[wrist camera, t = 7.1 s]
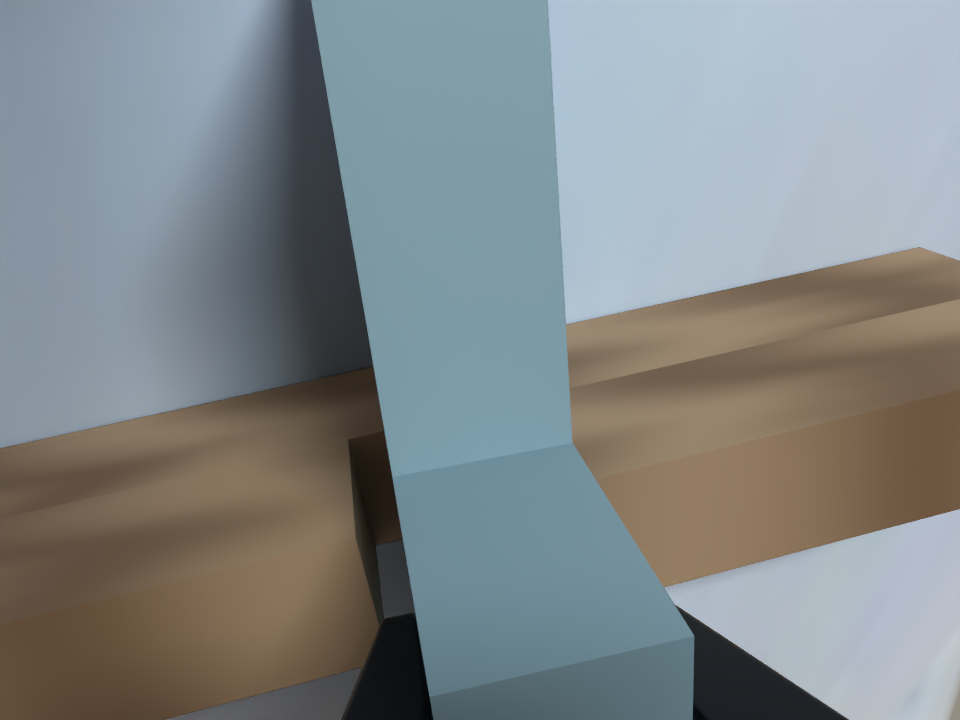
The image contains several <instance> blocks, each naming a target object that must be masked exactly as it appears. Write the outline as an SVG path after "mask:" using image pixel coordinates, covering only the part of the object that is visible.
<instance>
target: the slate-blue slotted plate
mask: <svg viewBox="0 0 960 720" xmlns="http://www.w3.org/2000/svg"><path fill="white" fill-rule="evenodd" d="M311 3H312V9H313V15H314V20H315V26H316V32H317V38H318V44H319V50H320V56H321V61H322V67H323V73H324V79H325V85H326V91H327V97H328V103H329V108H330V114H331V120H332V126H333V132H334V138H335V144H336V149H337V155H338V161H339V167H340V173H341V179H342V185H343V190H344V196H345V202H346V208H347V214H348V220H349V226H350V232H351V237H352V243H353V249H354V255H355V261H356V267H357V273H358V278H359V284H360V290H361V296H362V302H363V308H364V314H365V319H366V325H367V331H368V337H369V343H370V349H371V355H372V361H373V366H374V372H375V378H376V384H377V390H378V396H379V402H380V407H381V413H382V419H383V425H384V431H385V437H386V443H387V448H388V454H389V460H390V466H391V472H392V478H393V484H394V490H395V496H396V501H397V507H398V513H399V519H400V525H401V531H402V537H403V543H404V549H405V555H406V561H407V566H408V572H409V578H410V584H411V590H412V596H413V602H414V608H415V614H416V620H417V626H418V631H419V637H420V643H421V649H422V655H423V661H424V667H425V673H426V679H427V685H428V691H429V696H430V702H431V708H432V714H433V720H693V678H694V635H693V633H692V631H691V630H690V628H689V627H688V625H687V623H686V622H685V620H684V619H683V617H682V616H681V614H680V612H679V611H678V609H677V608H676V606H675V604H674V603H673V601H672V600H671V598H670V597H669V595H668V593H667V592H666V590H665V589H664V587H663V585H662V584H661V582H660V581H659V579H658V578H657V576H656V574H655V573H654V571H653V570H652V568H651V566H650V565H649V563H648V562H647V560H646V559H645V557H644V555H643V554H642V552H641V551H640V549H639V547H638V546H637V544H636V543H635V541H634V539H633V538H632V536H631V535H630V533H629V532H628V530H627V528H626V527H625V525H624V524H623V522H622V520H621V519H620V517H619V516H618V514H617V513H616V511H615V509H614V508H613V506H612V505H611V503H610V501H609V500H608V498H607V497H606V495H605V494H604V492H603V490H602V489H601V487H600V486H599V484H598V482H597V481H596V479H595V478H594V476H593V475H592V473H591V471H590V470H589V468H588V467H587V465H586V463H585V462H584V460H583V459H582V457H581V456H580V454H579V452H578V451H577V449H576V448H575V446H574V444H573V443H572V425H571V407H570V390H569V372H568V354H567V336H566V319H565V301H564V283H563V266H562V248H561V230H560V212H559V195H558V177H557V159H556V142H555V124H554V106H553V89H552V71H551V53H550V35H549V18H548V0H311Z"/></svg>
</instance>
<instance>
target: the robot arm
mask: <svg viewBox="0 0 960 720" xmlns="http://www.w3.org/2000/svg"><path fill="white" fill-rule="evenodd" d="M675 606H676V605H675ZM676 608H677V609H678V611H679V612H680V614H681V616H682V617H683V619H684V620H685V622H686V623H687V625H688V627H689V628H690V630H691V631H692V633H693V635H694V678H693V720H849V719H847V718H846V717H844V716H843V715H841V714H840V713H838V712H837V711H835V710H833V709H832V708H830V707H829V706H827V705H826V704H824V703H823V702H821V701H820V700H818V699H817V698H815V697H814V696H812V695H811V694H809V693H808V692H806V691H805V690H803V689H802V688H800V687H799V686H797V685H796V684H794V683H793V682H791V681H790V680H788V679H787V678H785V677H784V676H782V675H781V674H779V673H778V672H776V671H774V670H773V669H771V668H770V667H768V666H767V665H765V664H764V663H762V662H761V661H759V660H758V659H756V658H755V657H753V656H752V655H750V654H749V653H747V652H746V651H744V650H743V649H741V648H740V647H738V646H737V645H735V644H734V643H732V642H731V641H729V640H728V639H726V638H725V637H723V636H722V635H720V634H719V633H717V632H716V631H714V630H712V629H711V628H709V627H708V626H706V625H705V624H703V623H702V622H700V621H699V620H697V619H696V618H694V617H693V616H691V615H690V614H688V613H687V612H685V611H684V610H682V609H681V608H679V607H678V606H676ZM341 720H433V714H432V708H431V702H430V696H429V691H428V685H427V679H426V673H425V667H424V661H423V655H422V649H421V643H420V637H419V631H418V626H417V620H416V614H414V613H410V614H405V615H400V616H396V617H391V618H387V619H384V620H383V621H382V622H381V624H380V626H379V628H378V630H377V633H376V635H375V638H374V640H373V643H372V645H371V647H370V650H369V652H368V655H367V657H366V660H365V662H364V665H363V667H362V670H361V672H360V675H359V677H358V680H357V682H356V685H355V687H354V689H353V692H352V694H351V697H350V699H349V702H348V704H347V707H346V709H345V712H344V714H343V717H342V719H341Z"/></svg>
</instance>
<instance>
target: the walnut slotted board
mask: <svg viewBox="0 0 960 720" xmlns="http://www.w3.org/2000/svg"><path fill="white" fill-rule="evenodd" d="M566 336H567V354H568V372H569V390H570V407H571V425H572V443H573V444H574V446H575V448H576V449H577V451H578V452H579V454H580V456H581V457H582V459H583V460H584V462H585V463H586V465H587V467H588V468H589V470H590V471H591V473H592V475H593V476H594V478H595V479H596V481H597V482H598V484H599V486H600V487H601V489H602V490H603V492H604V494H605V495H606V497H607V498H608V500H609V501H610V503H611V505H612V506H613V508H614V509H615V511H616V513H617V514H618V516H619V517H620V519H621V520H622V522H623V524H624V525H625V527H626V528H627V530H628V532H629V533H630V535H631V536H632V538H633V539H634V541H635V543H636V544H637V546H638V547H639V549H640V551H641V552H642V554H643V555H644V557H645V559H646V560H647V562H648V563H649V565H650V566H651V568H652V570H653V571H654V573H655V574H656V576H657V578H658V579H659V581H660V582H661V584H662V585H663V587H667V586H671V585H674V584H678V583H682V582H686V581H689V580H693V579H697V578H701V577H705V576H708V575H712V574H716V573H720V572H723V571H727V570H731V569H735V568H739V567H742V566H746V565H750V564H754V563H757V562H761V561H765V560H769V559H773V558H776V557H780V556H784V555H788V554H791V553H795V552H799V551H803V550H806V549H810V548H814V547H818V546H822V545H825V544H829V543H833V542H837V541H840V540H844V539H848V538H852V537H856V536H859V535H863V534H867V533H871V532H874V531H878V530H882V529H886V528H890V527H893V526H897V525H901V524H905V523H908V522H912V521H916V520H920V519H924V518H927V517H931V516H935V515H939V514H942V513H946V512H950V511H954V510H958V509H960V261H959V260H956V259H953V258H950V257H947V256H944V255H941V254H938V253H935V252H932V251H929V250H926V249H924V248H921V247H919V248H914V249H910V250H905V251H901V252H896V253H891V254H887V255H882V256H878V257H873V258H869V259H864V260H859V261H855V262H850V263H846V264H841V265H837V266H832V267H827V268H823V269H818V270H814V271H809V272H805V273H800V274H795V275H791V276H786V277H782V278H777V279H772V280H768V281H763V282H759V283H754V284H750V285H745V286H740V287H736V288H731V289H727V290H722V291H718V292H713V293H708V294H704V295H699V296H695V297H690V298H686V299H681V300H676V301H672V302H667V303H663V304H658V305H654V306H649V307H644V308H640V309H635V310H631V311H626V312H622V313H617V314H612V315H608V316H603V317H599V318H594V319H590V320H585V321H580V322H576V323H571V324H567V325H566ZM401 539H403V537H402V531H401V525H400V519H399V513H398V507H397V501H396V496H395V490H394V484H393V478H392V472H391V466H390V460H389V454H388V448H387V443H386V437H385V431H384V425H383V419H382V413H381V407H380V402H379V396H378V390H377V384H376V378H375V372H374V367H370V368H365V369H361V370H356V371H352V372H347V373H343V374H338V375H333V376H329V377H324V378H320V379H315V380H311V381H306V382H301V383H297V384H292V385H288V386H283V387H279V388H274V389H269V390H265V391H260V392H256V393H251V394H247V395H242V396H237V397H233V398H228V399H224V400H219V401H215V402H210V403H205V404H201V405H196V406H192V407H187V408H183V409H178V410H173V411H169V412H164V413H160V414H155V415H151V416H146V417H141V418H137V419H132V420H128V421H123V422H119V423H114V424H109V425H105V426H100V427H96V428H91V429H87V430H82V431H77V432H73V433H68V434H64V435H59V436H54V437H50V438H45V439H41V440H36V441H32V442H27V443H22V444H18V445H13V446H9V447H4V448H0V720H164V719H168V718H172V717H176V716H180V715H183V714H187V713H191V712H195V711H198V710H202V709H206V708H210V707H214V706H217V705H221V704H225V703H229V702H232V701H236V700H240V699H244V698H248V697H251V696H255V695H259V694H263V693H266V692H270V691H274V690H278V689H282V688H285V687H289V686H293V685H297V684H300V683H304V682H308V681H312V680H316V679H319V678H323V677H327V676H331V675H334V674H338V673H342V672H346V671H350V670H353V669H357V668H361V667H363V665H364V662H365V660H366V657H367V655H368V652H369V650H370V647H371V645H372V643H373V640H374V638H375V635H376V633H377V630H378V628H379V626H380V624H381V622H382V621H383V620H384V616H383V607H382V598H381V589H380V580H379V572H378V563H377V554H376V545H380V544H385V543H389V542H393V541H397V540H401Z"/></svg>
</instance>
